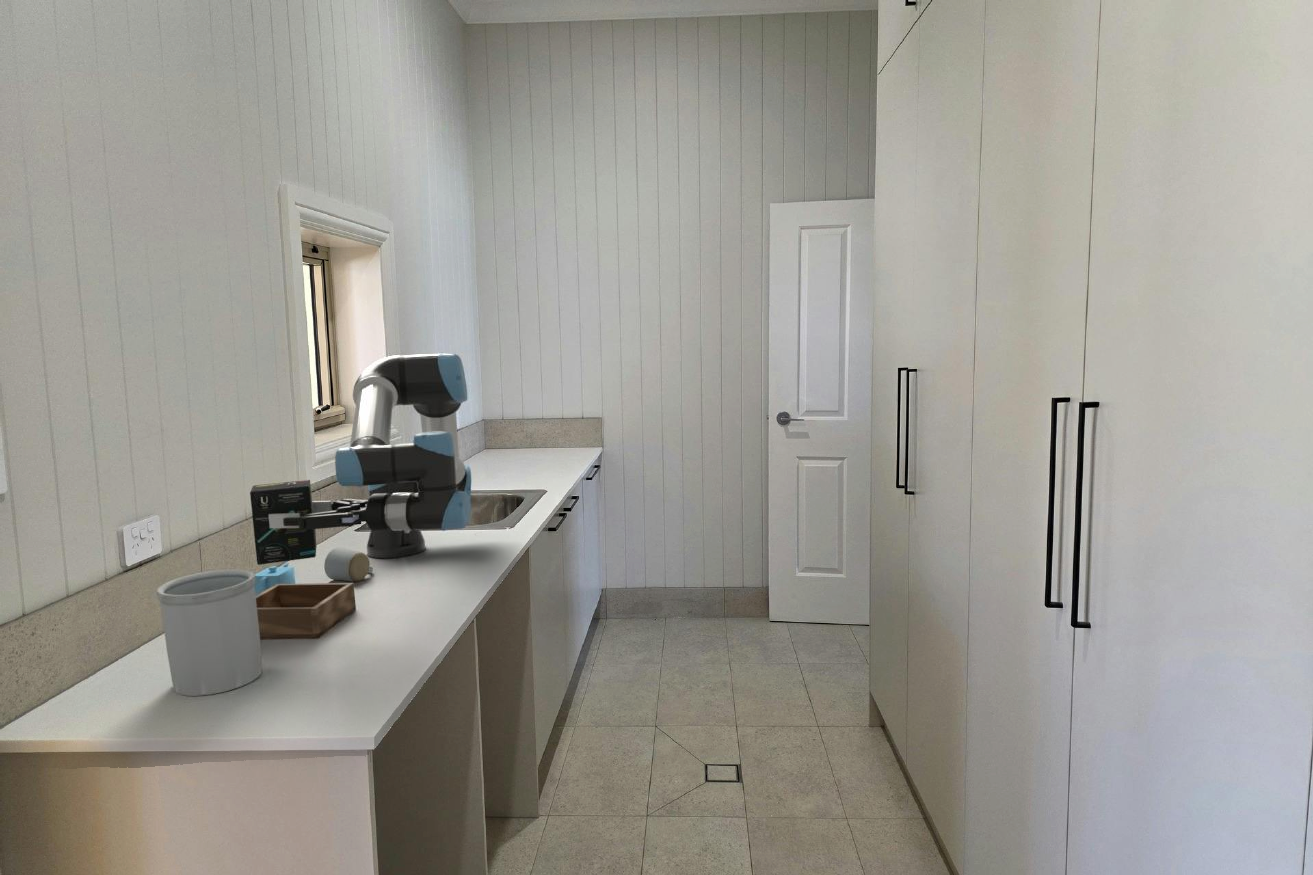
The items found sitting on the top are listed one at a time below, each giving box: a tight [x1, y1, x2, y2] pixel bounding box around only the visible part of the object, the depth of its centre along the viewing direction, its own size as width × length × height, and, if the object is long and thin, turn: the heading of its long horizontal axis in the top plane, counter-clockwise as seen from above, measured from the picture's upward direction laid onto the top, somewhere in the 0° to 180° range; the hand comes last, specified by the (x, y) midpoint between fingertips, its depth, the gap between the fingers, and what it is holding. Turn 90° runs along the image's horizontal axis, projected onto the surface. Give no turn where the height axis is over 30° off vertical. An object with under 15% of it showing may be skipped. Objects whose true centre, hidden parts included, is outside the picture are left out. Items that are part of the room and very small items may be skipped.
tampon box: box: [249, 479, 317, 566], centre depth 171 cm, size 11×9×15 cm
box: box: [255, 582, 357, 640], centre depth 174 cm, size 17×17×6 cm
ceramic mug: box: [323, 547, 374, 583], centre depth 206 cm, size 11×8×8 cm
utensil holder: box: [156, 568, 263, 697], centre depth 145 cm, size 15×15×18 cm
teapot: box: [254, 562, 296, 596], centre depth 192 cm, size 12×6×8 cm, turn 176°
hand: (285, 514), depth 171 cm, fingers closed on tampon box, 11 cm apart
